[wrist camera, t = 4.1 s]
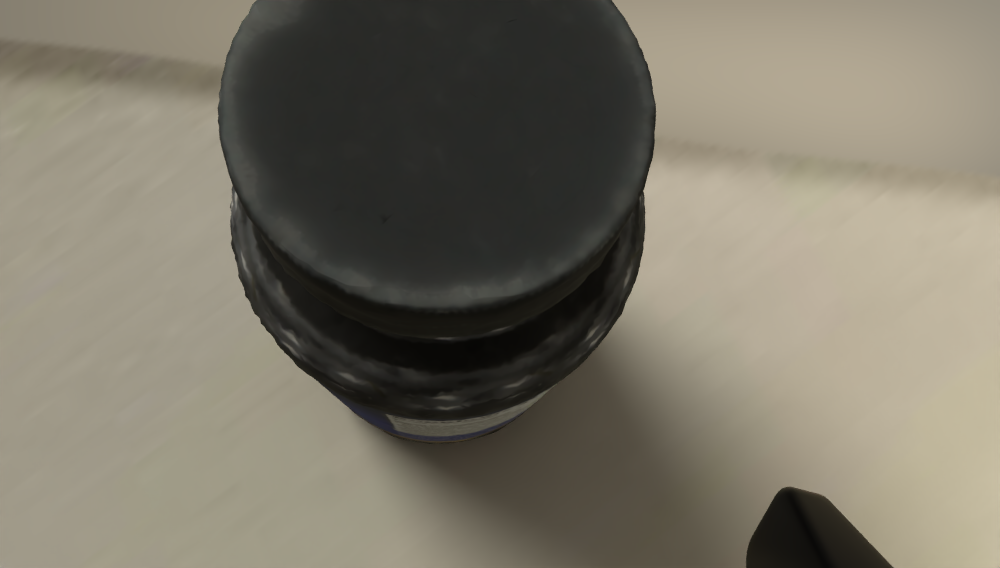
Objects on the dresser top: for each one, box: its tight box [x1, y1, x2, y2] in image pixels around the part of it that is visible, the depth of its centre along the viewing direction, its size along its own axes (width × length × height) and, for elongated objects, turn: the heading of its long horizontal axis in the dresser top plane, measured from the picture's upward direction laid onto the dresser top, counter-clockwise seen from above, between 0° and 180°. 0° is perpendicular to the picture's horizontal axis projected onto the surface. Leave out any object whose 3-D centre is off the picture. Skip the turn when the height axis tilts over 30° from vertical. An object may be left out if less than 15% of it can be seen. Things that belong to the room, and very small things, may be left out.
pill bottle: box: [218, 0, 656, 444], centre depth 13 cm, size 6×6×11 cm
